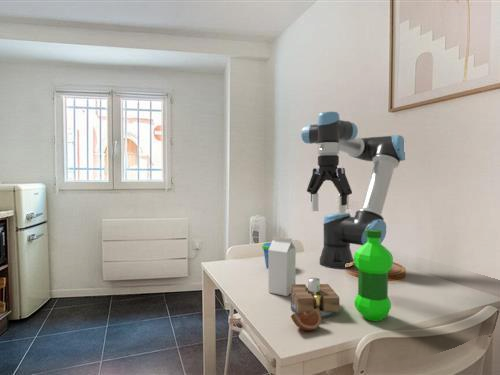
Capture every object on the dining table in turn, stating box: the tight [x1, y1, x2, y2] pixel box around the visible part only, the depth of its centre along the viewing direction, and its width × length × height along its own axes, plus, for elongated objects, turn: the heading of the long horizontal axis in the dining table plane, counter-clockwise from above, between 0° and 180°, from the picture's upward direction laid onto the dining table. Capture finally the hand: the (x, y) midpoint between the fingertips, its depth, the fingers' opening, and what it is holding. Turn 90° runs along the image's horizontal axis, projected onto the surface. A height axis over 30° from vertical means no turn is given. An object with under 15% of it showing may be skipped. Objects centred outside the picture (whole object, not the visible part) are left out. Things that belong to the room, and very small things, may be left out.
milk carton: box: [267, 236, 297, 297], centre depth 117 cm, size 7×7×19 cm
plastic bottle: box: [353, 229, 394, 322], centre depth 95 cm, size 10×10×25 cm
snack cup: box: [261, 241, 272, 268], centre depth 147 cm, size 16×10×10 cm
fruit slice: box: [290, 308, 323, 332], centre depth 89 cm, size 8×7×5 cm
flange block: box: [290, 283, 340, 312], centre depth 102 cm, size 12×12×4 cm
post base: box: [290, 277, 338, 319], centre depth 102 cm, size 14×14×9 cm
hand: (327, 212), depth 124 cm, fingers open, 13 cm apart
